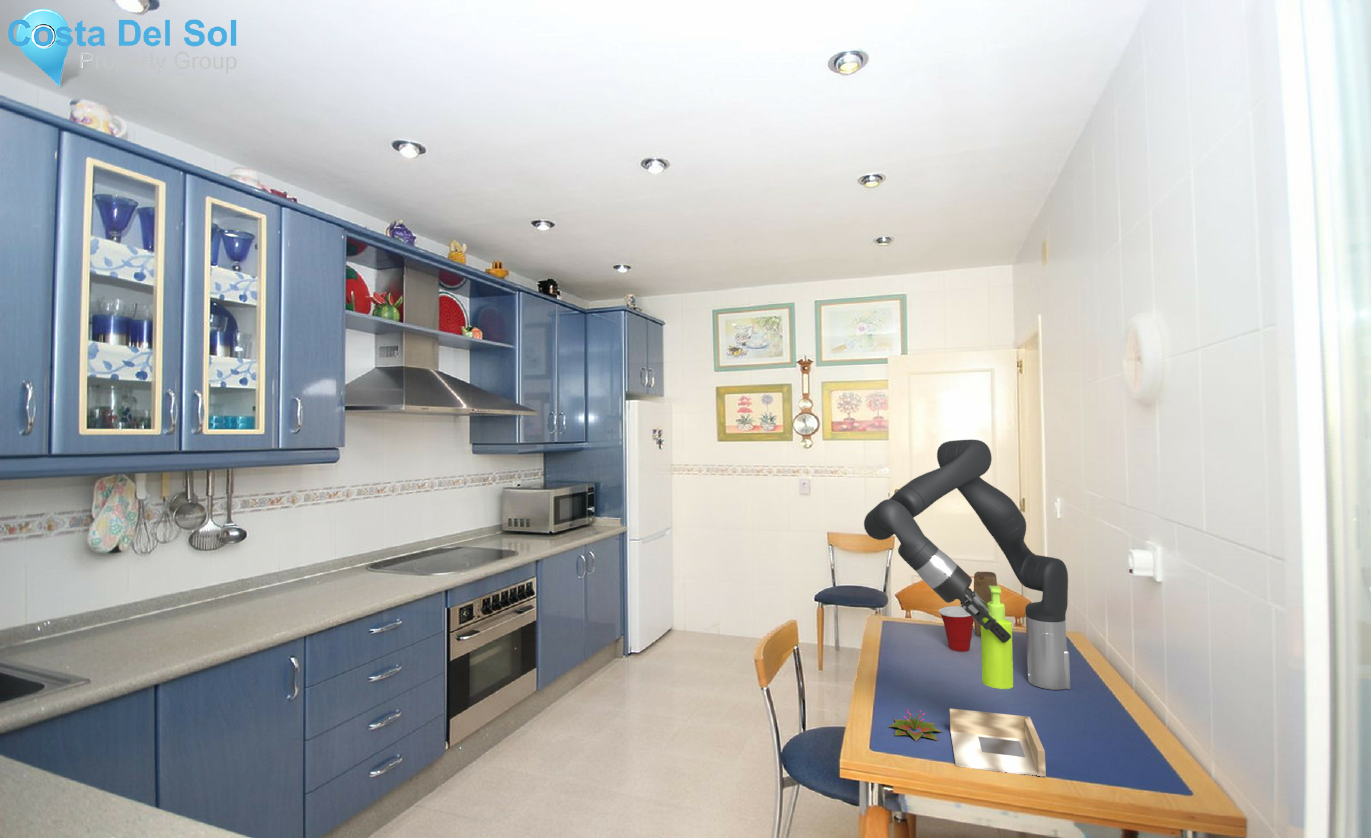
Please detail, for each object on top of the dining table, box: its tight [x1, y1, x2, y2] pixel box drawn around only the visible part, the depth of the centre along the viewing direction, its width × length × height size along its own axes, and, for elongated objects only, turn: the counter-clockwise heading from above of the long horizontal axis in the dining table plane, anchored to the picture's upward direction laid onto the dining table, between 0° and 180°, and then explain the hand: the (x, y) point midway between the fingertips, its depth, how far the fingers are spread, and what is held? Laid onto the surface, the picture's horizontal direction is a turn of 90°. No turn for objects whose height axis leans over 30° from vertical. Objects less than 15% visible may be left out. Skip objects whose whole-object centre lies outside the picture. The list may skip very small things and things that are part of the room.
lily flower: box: [888, 708, 942, 742], centre depth 145 cm, size 12×12×5 cm
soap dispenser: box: [980, 585, 1014, 690], centre depth 137 cm, size 6×7×20 cm
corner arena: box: [949, 708, 1047, 778], centre depth 134 cm, size 16×16×5 cm
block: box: [973, 571, 998, 637], centre depth 213 cm, size 11×8×20 cm
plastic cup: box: [938, 605, 974, 653], centre depth 200 cm, size 11×11×12 cm
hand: (1005, 634), depth 136 cm, fingers closed on soap dispenser, 6 cm apart
